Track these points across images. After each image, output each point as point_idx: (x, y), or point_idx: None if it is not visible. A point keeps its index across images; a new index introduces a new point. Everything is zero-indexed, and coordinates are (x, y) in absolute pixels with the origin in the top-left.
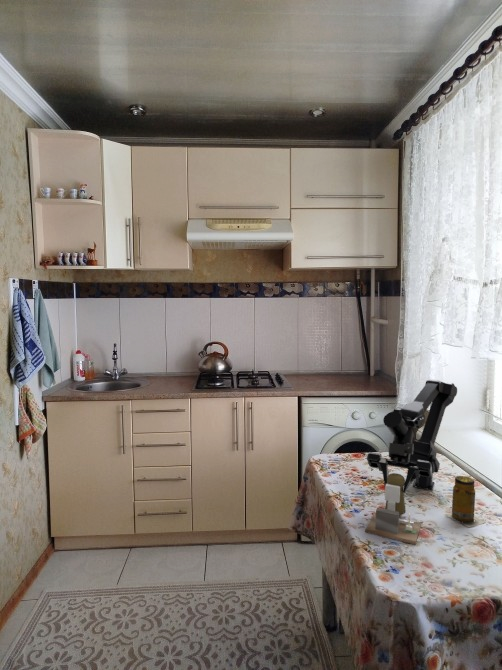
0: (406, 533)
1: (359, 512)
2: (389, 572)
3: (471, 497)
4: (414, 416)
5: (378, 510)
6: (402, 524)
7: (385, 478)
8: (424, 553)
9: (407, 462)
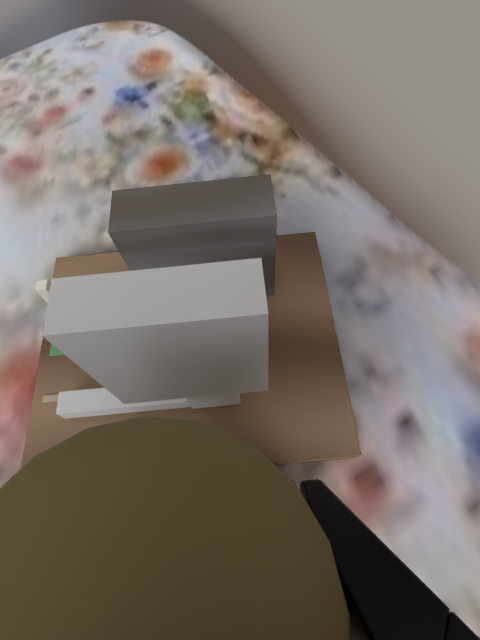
0: None
1: (460, 437)
2: (143, 82)
3: None
4: None
5: (253, 180)
6: None
7: (379, 585)
8: (25, 225)
9: None
